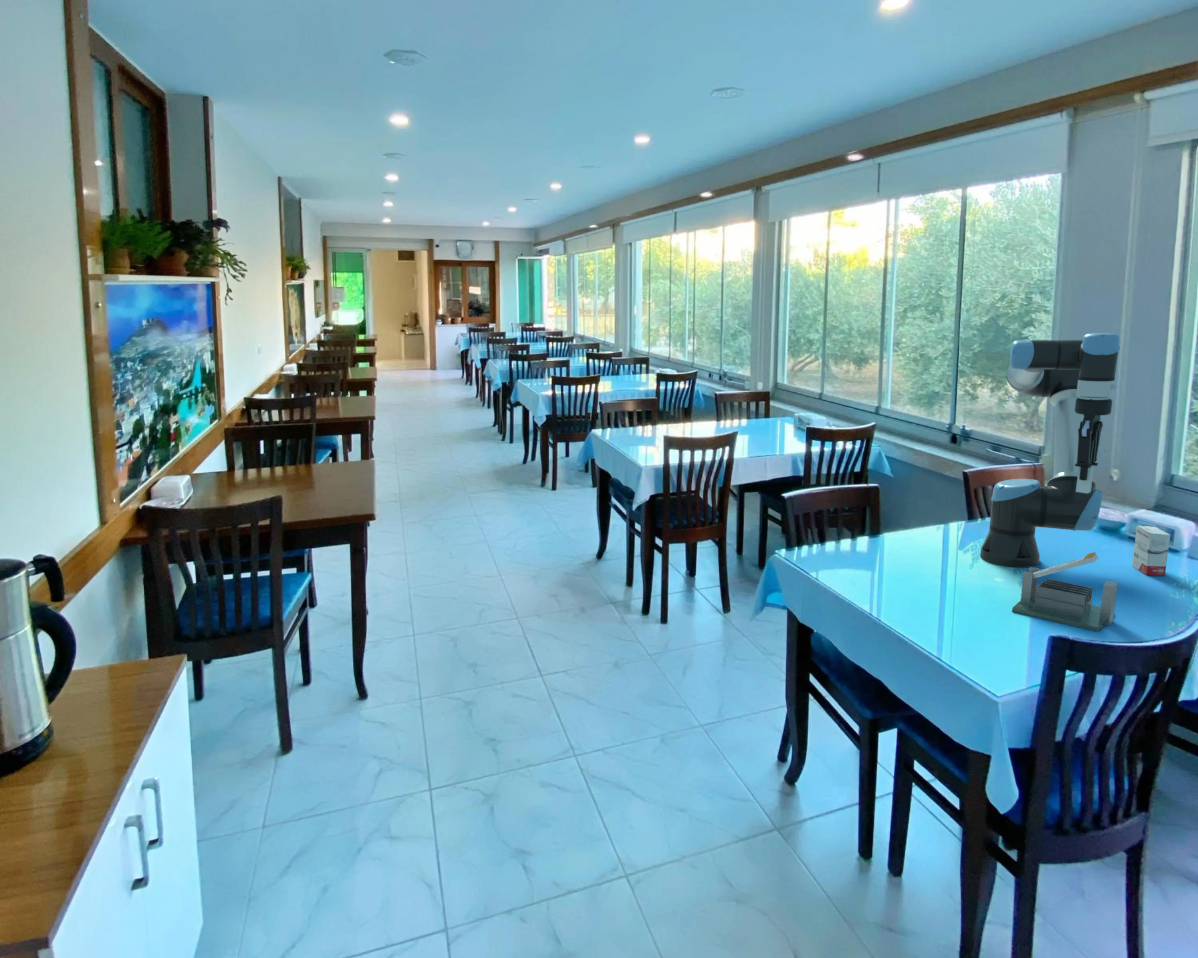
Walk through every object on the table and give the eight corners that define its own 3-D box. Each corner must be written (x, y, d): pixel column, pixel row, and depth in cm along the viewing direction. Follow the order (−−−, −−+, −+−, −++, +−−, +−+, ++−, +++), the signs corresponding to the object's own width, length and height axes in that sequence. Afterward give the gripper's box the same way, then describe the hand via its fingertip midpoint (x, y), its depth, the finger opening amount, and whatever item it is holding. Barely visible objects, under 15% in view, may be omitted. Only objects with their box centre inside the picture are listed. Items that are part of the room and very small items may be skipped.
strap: (1027, 580, 187) (1024, 574, 187) (1031, 577, 189) (1028, 570, 190) (1095, 562, 176) (1091, 555, 176) (1098, 558, 178) (1095, 551, 179)
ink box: (1166, 576, 206) (1172, 534, 204) (1145, 575, 207) (1151, 533, 205) (1150, 566, 215) (1156, 525, 212) (1130, 565, 216) (1136, 525, 213)
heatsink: (1012, 611, 186) (1015, 574, 184) (1029, 595, 195) (1033, 560, 193) (1103, 632, 173) (1108, 593, 170) (1117, 614, 182) (1122, 576, 180)
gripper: (1105, 401, 179) (1093, 499, 184) (1118, 395, 189) (1107, 488, 194) (1068, 399, 184) (1058, 494, 189) (1083, 394, 194) (1073, 484, 199)
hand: (1083, 491), depth 192 cm, fingers closed
